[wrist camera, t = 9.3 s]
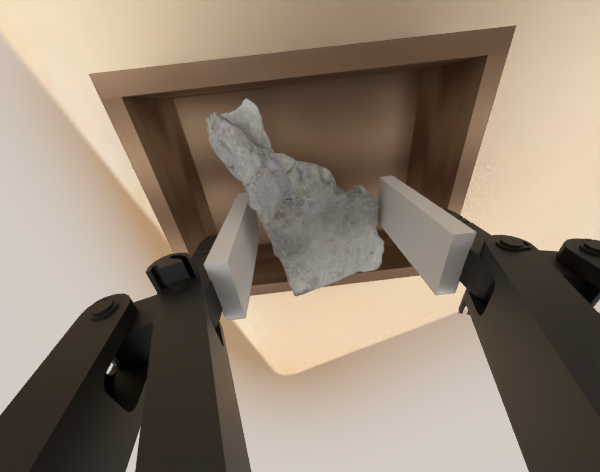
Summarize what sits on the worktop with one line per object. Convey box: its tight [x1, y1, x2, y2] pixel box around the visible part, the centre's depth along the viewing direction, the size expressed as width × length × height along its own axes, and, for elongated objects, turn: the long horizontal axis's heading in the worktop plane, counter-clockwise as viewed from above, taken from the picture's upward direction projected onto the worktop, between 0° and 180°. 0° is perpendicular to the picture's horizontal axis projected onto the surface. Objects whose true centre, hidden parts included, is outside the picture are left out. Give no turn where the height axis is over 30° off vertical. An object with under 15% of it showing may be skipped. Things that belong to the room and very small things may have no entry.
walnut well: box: [89, 26, 516, 296], centre depth 17 cm, size 15×20×7 cm
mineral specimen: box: [206, 99, 384, 296], centre depth 12 cm, size 6×12×4 cm, turn 21°
